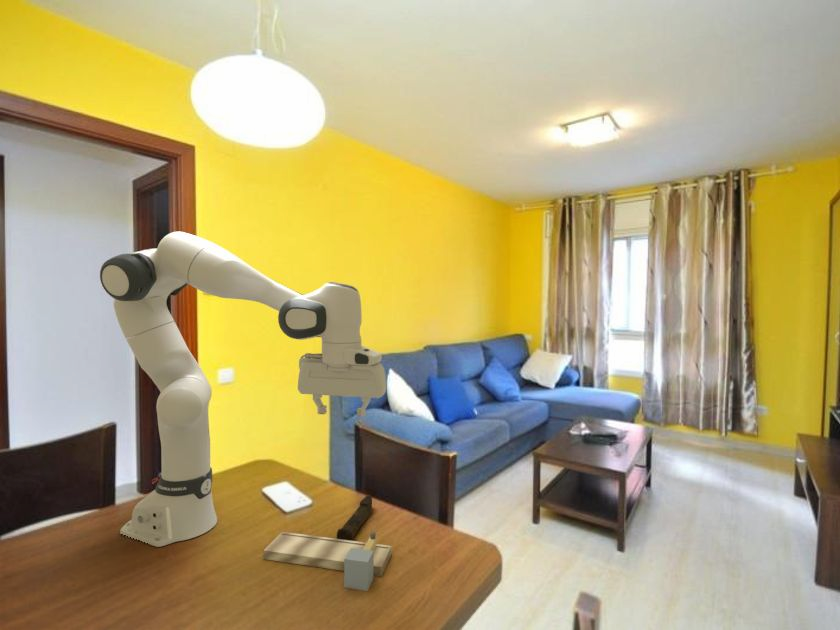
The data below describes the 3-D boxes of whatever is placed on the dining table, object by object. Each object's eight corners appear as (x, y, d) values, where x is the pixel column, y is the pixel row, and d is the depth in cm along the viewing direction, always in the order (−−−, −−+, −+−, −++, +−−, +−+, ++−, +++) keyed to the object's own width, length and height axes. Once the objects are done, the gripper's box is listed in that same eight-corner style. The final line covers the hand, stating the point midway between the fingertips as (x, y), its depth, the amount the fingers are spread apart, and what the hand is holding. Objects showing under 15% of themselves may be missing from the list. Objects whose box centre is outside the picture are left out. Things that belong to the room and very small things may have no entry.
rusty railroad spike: (350, 547, 101) (351, 528, 101) (335, 544, 102) (336, 525, 102) (380, 510, 119) (380, 494, 119) (367, 508, 120) (367, 492, 120)
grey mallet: (344, 587, 86) (344, 558, 86) (363, 553, 98) (363, 528, 98) (367, 591, 85) (367, 562, 85) (383, 556, 97) (384, 530, 97)
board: (263, 558, 95) (263, 549, 95) (281, 539, 103) (281, 531, 103) (381, 576, 90) (381, 566, 90) (391, 554, 98) (391, 545, 98)
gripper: (292, 354, 94) (292, 415, 94) (380, 357, 90) (379, 421, 90) (305, 351, 100) (305, 408, 100) (388, 354, 96) (388, 414, 96)
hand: (341, 415), depth 95 cm, fingers open, 8 cm apart
